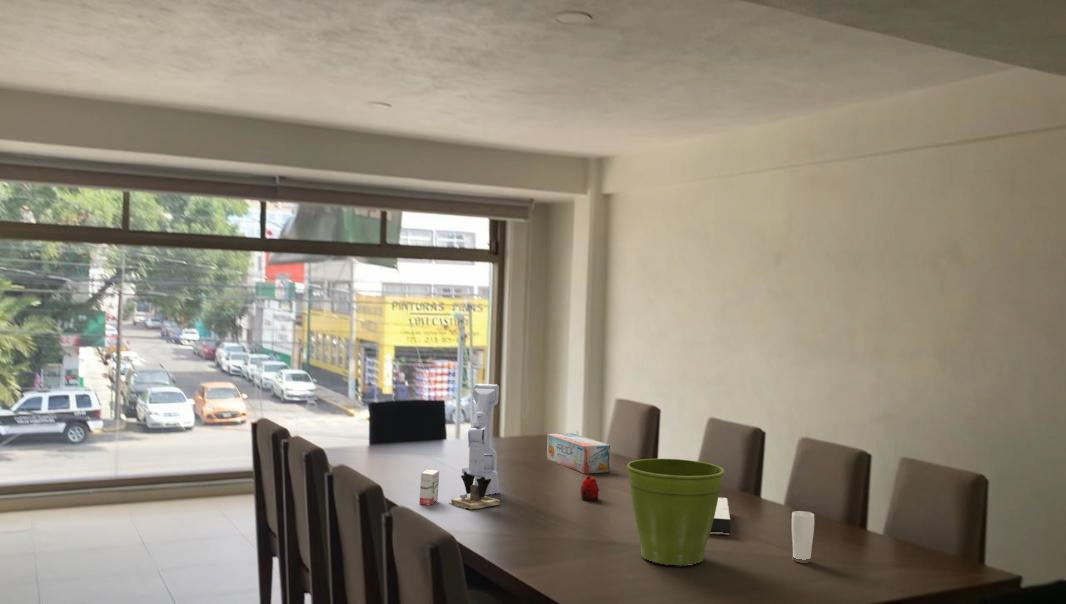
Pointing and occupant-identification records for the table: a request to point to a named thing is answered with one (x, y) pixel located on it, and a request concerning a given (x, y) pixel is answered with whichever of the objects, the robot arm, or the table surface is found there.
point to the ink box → (429, 487)
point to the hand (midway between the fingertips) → (475, 495)
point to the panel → (475, 500)
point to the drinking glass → (802, 534)
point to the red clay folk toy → (589, 488)
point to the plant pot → (674, 507)
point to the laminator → (721, 517)
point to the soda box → (578, 452)
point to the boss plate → (462, 497)
